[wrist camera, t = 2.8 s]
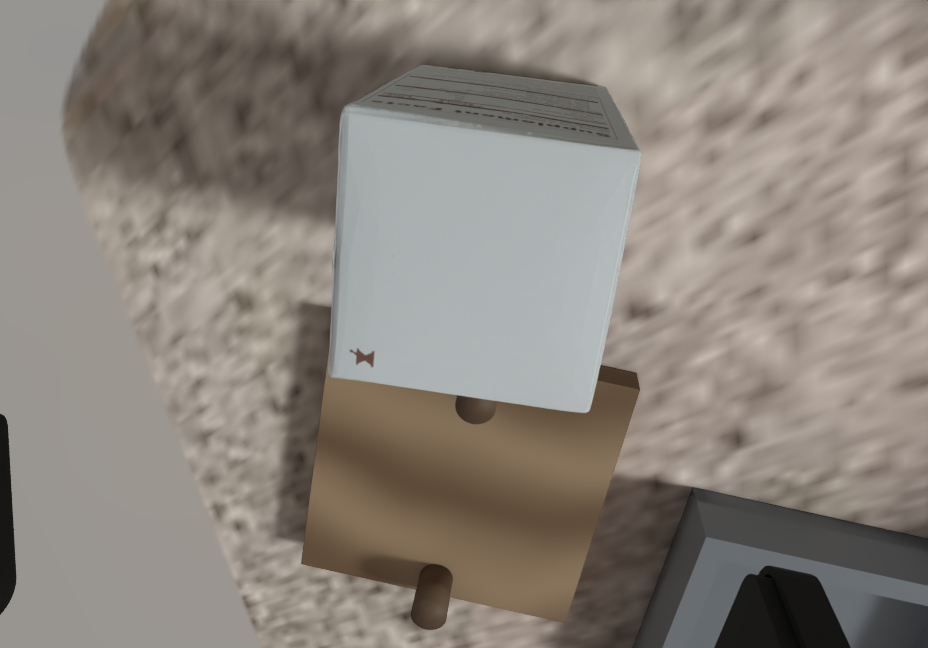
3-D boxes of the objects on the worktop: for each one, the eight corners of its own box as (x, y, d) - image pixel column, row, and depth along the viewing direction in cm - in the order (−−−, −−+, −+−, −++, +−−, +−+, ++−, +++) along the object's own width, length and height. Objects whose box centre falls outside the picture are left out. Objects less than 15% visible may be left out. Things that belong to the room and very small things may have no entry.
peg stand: (341, 309, 34) (315, 348, 31) (636, 373, 34) (646, 420, 30) (309, 543, 40) (284, 601, 36) (564, 600, 39) (565, 663, 36)
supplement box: (577, 268, 32) (591, 427, 21) (399, 241, 33) (316, 383, 21) (614, 82, 29) (652, 149, 18) (417, 55, 30) (331, 103, 18)
